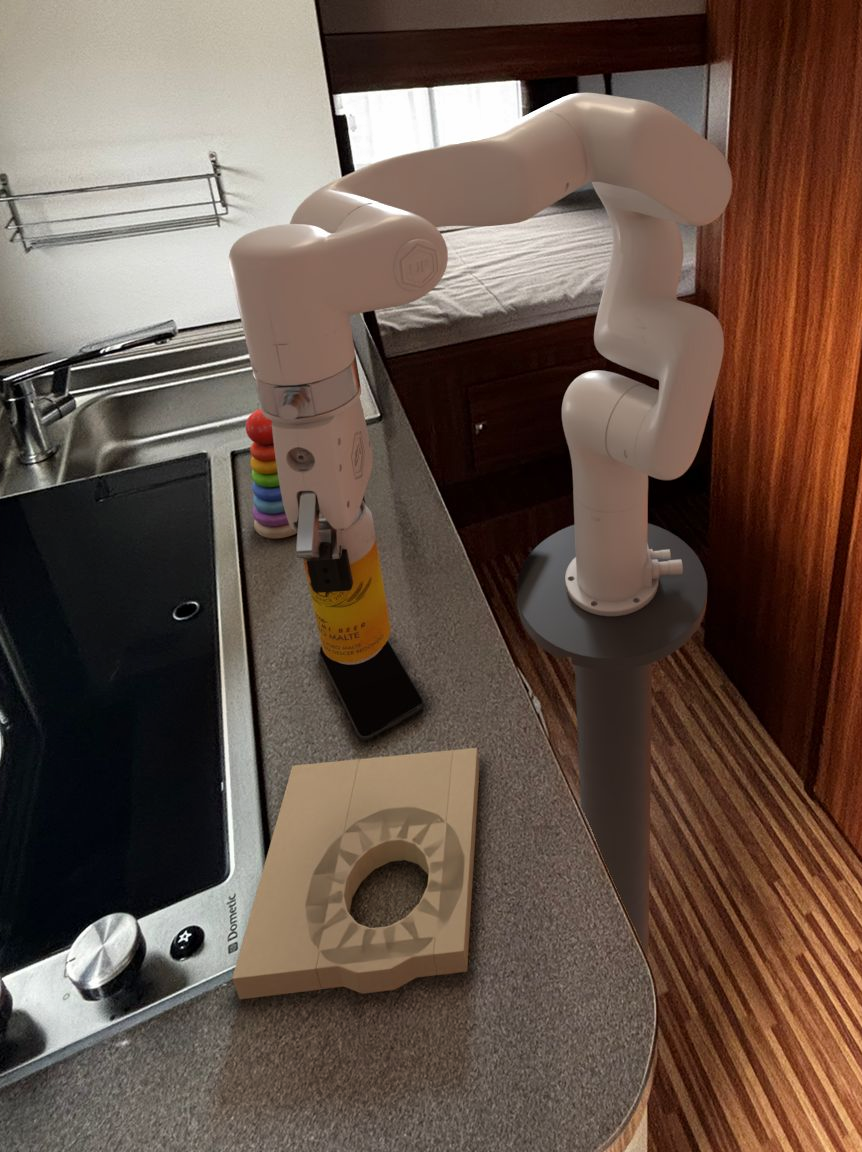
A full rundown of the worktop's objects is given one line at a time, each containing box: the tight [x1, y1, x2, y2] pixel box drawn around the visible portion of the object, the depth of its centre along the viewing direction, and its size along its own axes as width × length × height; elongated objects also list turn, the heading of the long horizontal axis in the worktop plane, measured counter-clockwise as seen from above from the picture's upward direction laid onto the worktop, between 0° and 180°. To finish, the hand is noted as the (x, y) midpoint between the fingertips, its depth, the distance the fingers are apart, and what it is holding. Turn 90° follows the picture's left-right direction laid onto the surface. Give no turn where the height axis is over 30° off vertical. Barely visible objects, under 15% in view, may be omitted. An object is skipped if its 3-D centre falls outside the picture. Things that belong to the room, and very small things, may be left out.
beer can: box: [302, 500, 392, 665], centre depth 72 cm, size 6×6×15 cm
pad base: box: [231, 747, 480, 1000], centre depth 73 cm, size 18×19×3 cm
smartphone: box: [318, 639, 425, 741], centre depth 92 cm, size 7×1×15 cm
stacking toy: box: [245, 408, 298, 540], centre depth 113 cm, size 8×8×19 cm
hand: (342, 559), depth 71 cm, fingers closed on beer can, 6 cm apart
